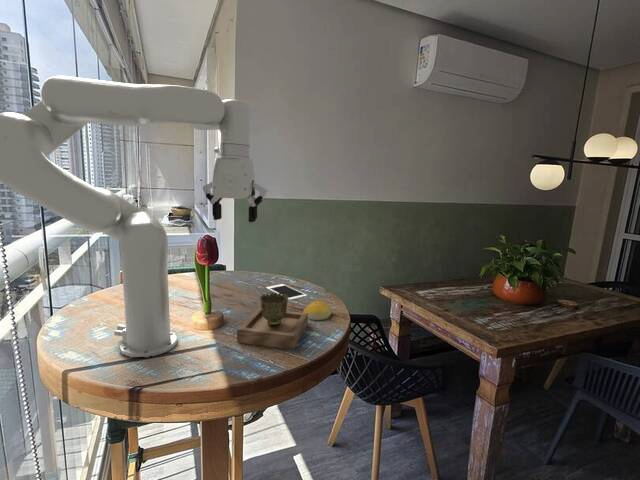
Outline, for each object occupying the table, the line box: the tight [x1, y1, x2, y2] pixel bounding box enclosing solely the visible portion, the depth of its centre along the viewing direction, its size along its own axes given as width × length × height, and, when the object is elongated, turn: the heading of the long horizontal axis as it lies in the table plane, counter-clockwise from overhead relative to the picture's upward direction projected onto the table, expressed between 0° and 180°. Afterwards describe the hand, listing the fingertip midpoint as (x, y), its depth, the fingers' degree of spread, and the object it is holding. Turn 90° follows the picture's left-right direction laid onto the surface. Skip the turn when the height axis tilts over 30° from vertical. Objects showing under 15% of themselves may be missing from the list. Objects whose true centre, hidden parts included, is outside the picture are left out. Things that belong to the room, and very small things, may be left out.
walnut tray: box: [236, 307, 309, 351], centre depth 93 cm, size 15×15×4 cm
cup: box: [259, 292, 289, 327], centre depth 92 cm, size 8×7×8 cm
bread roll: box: [302, 300, 333, 321], centre depth 107 cm, size 8×9×4 cm
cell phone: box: [266, 283, 308, 301], centre depth 128 cm, size 8×16×1 cm, turn 40°
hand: (234, 220), depth 89 cm, fingers open, 9 cm apart
